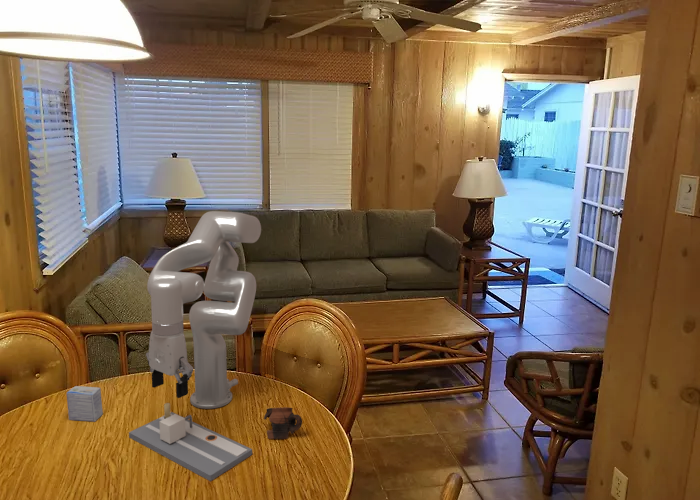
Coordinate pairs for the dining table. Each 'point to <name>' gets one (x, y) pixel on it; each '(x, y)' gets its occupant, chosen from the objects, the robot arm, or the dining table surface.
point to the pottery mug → (282, 422)
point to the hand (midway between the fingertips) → (169, 390)
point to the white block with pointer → (173, 428)
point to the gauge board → (193, 447)
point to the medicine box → (84, 403)
